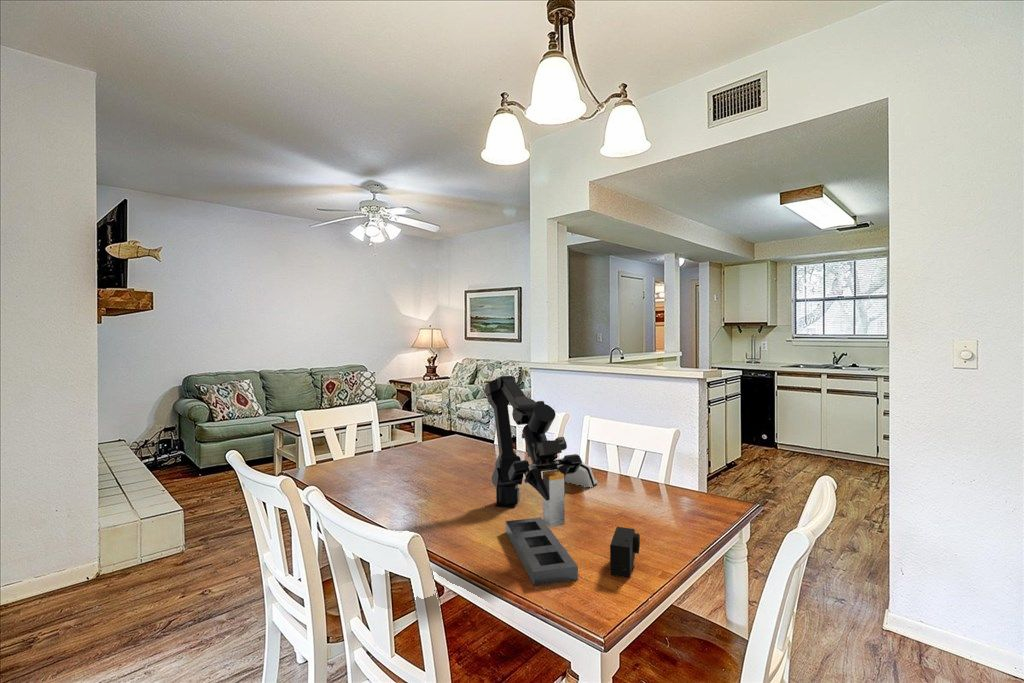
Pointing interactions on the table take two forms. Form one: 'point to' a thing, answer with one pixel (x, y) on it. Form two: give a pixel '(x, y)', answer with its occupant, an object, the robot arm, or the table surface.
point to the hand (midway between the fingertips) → (555, 498)
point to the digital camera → (623, 551)
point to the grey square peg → (554, 499)
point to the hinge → (580, 476)
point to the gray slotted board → (541, 552)
